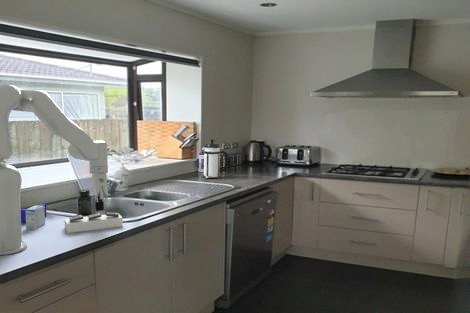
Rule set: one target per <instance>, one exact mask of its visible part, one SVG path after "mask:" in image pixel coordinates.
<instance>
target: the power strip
mask: <svg viewBox="0 0 470 313" xmlns="http://www.w3.org/2000/svg"><path fill="white" fill-rule="evenodd" d="M88 216H89V215H87V216H83V219H81V220H77V221H73V222H70V220H69V218H64V229H65V231H66V233H67V234H70V233H71V234H72V233H78V232H87V231H95V230H103V229H111V228H118V227H123V217H122V215H121V214H119V217H112V216H106V215H105V214H101V216H102V217H99V218H95V219H91V220H89V219H88Z"/></svg>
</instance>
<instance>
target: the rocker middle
mask: <svg viewBox="0 0 470 313" xmlns="http://www.w3.org/2000/svg"><path fill="white" fill-rule="evenodd" d="M101 215H102V214H101V212H98V213H94V214H91V215H87V216H88V219H89V220H91V219H95V218H99V217H102V216H101Z"/></svg>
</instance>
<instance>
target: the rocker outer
mask: <svg viewBox="0 0 470 313" xmlns="http://www.w3.org/2000/svg"><path fill="white" fill-rule="evenodd" d="M104 215H106V216H112V217H119V215H120V213H119V212H111V211H110V212H108V211H107V212H105V214H104Z"/></svg>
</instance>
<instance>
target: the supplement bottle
mask: <svg viewBox="0 0 470 313" xmlns="http://www.w3.org/2000/svg"><path fill="white" fill-rule="evenodd" d="M90 191H91V190H90V189H85V188H84V189H79V191H78V192H79V193H78V194H79V195H78V196H77V197H76V207H77V208H76V209H77V212H76V213H77V216H79V215H82V216H83V217H87V216H90V215H93V196H92V195H91V192H90Z"/></svg>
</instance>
